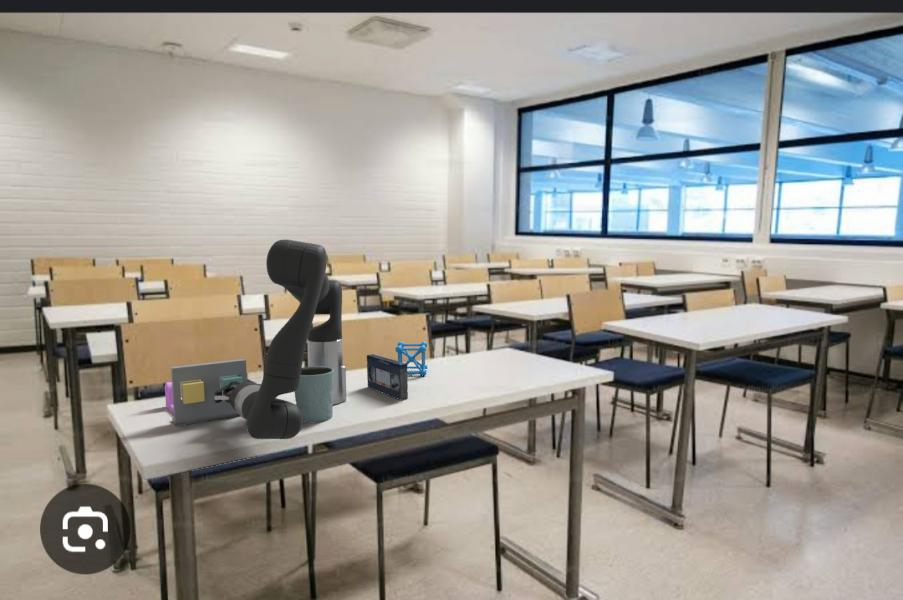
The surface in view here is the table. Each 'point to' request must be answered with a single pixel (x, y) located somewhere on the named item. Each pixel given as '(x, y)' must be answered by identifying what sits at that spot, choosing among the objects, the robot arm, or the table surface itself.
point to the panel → (211, 380)
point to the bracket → (169, 395)
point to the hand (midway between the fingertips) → (233, 385)
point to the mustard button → (192, 391)
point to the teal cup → (315, 393)
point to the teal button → (229, 380)
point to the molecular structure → (413, 356)
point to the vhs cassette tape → (387, 376)
